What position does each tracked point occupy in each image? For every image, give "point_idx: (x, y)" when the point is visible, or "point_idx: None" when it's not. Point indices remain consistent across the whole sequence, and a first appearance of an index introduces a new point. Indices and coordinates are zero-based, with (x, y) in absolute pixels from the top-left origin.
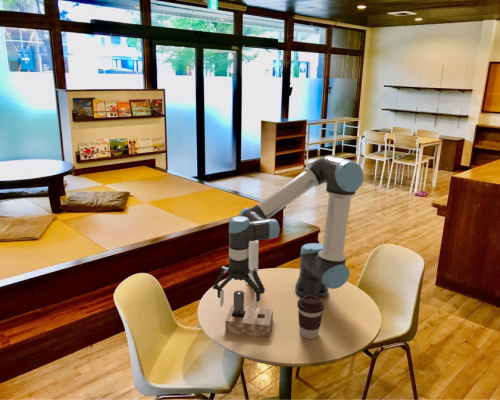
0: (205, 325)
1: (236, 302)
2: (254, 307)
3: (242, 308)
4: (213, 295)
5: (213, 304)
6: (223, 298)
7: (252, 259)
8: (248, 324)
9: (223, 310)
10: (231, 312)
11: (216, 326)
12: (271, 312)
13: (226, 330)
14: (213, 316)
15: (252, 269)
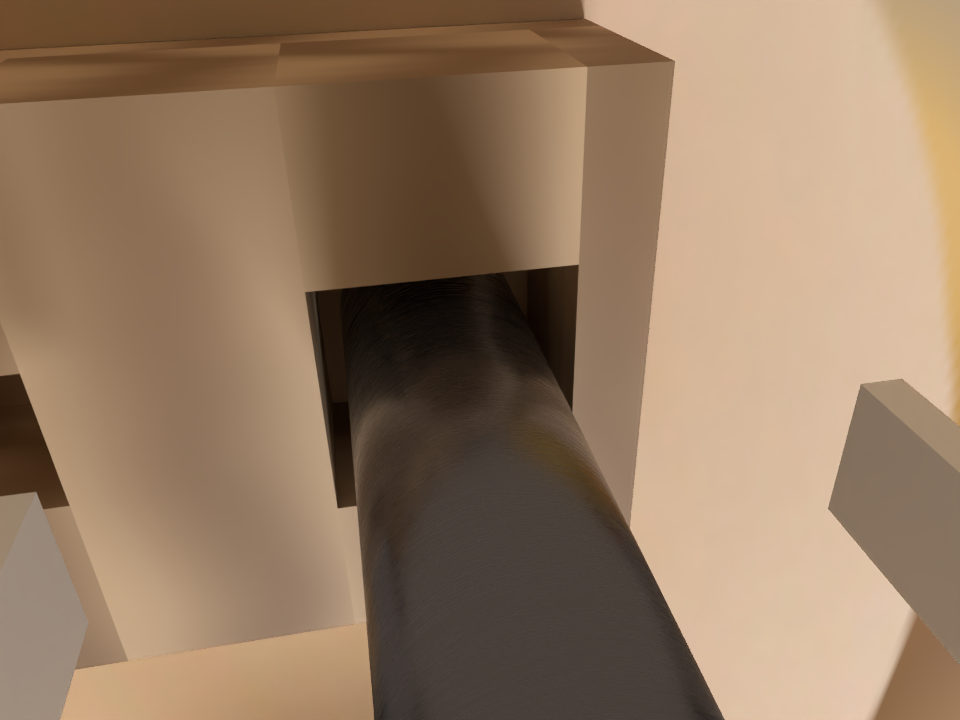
0: (913, 129)
1: (561, 527)
2: (5, 545)
3: (370, 464)
4: (828, 704)
5: (821, 579)
6: (904, 590)
7: None
8: (105, 88)
9: (692, 518)
10: (594, 388)
11: (749, 148)
12: None
13: (577, 24)
14: (808, 368)
15: None
